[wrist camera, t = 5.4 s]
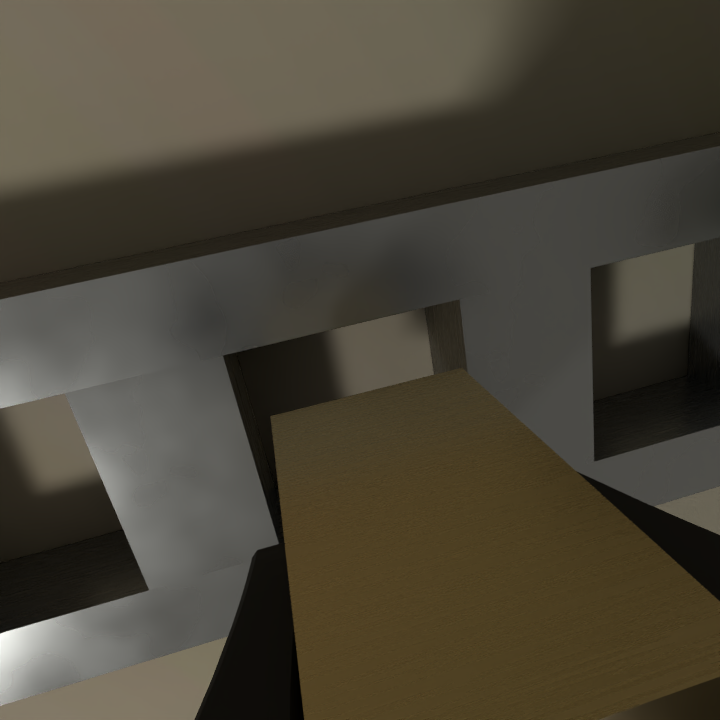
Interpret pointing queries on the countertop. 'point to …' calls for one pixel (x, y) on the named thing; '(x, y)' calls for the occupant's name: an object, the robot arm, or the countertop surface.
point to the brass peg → (475, 571)
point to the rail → (318, 314)
